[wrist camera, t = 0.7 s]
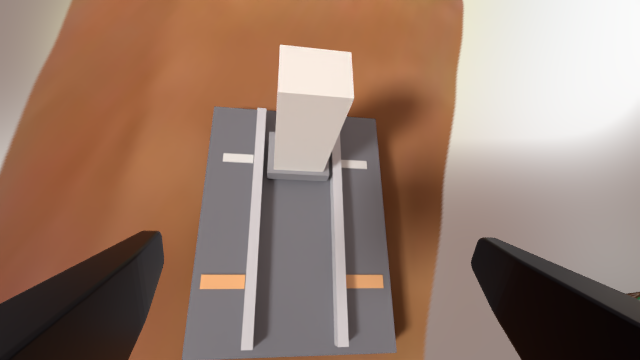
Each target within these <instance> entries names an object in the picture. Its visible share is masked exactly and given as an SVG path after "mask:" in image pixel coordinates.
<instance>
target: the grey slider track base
mask: <svg viewBox="0 0 640 360" xmlns="http://www.w3.org/2000/svg"><path fill="white" fill-rule="evenodd" d="M275 130H276V111H266V108H258V110H253V109H240V108H227V107H214V114H213V121H212V129H211V137H210V145H209V152H208V160H207V168H206V176H205V183H204V191H203V199H202V207H201V214H200V222H199V230H198V238H197V246H196V253H195V261H194V269H193V277H192V284H191V292H190V300H189V308H188V315H187V323H186V331H185V339H184V346H183V354H182V360H214V359H241V358H268V357H295V356H321V355H348V354H375V353H397V351H396V340H395V329H394V318H393V307H392V296H391V285H390V274H389V263H388V252H387V241H386V230H385V219H384V207H383V196H382V185H381V174H380V163H379V152H378V141H377V130H376V119H371V118H357V117H346V119H345V121H344V124H343V126H342V128H341V131H340V133H339V135H338V138H337V140H336V143H335V145H334V147H333V150H332V152H331V154H330V157H329V177H328V179H327V181H307V180H285V179H267V167H268V147H269V132H275Z"/></svg>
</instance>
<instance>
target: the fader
mask: <svg viewBox="0 0 640 360" xmlns="http://www.w3.org/2000/svg"><path fill="white" fill-rule="evenodd" d="M353 100H354V90H353V74H352V58H351V52H343V51H333V50H324V49H315V48H305V47H296V46H287V45H280V55H279V74H278V93H277V111H276V130H275V132H269V147H268V167H267V179H285V180H307V181H327V179H328V177H329V157H330V154H331V152H332V150H333V147H334V145H335V143H336V140H337V138H338V135H339V133H340V131H341V128H342V126H343V124H344V121H345V119H346V116H347V114H348V112H349V109H350V107H351V105H352V102H353Z"/></svg>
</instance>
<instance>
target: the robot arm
mask: <svg viewBox="0 0 640 360" xmlns="http://www.w3.org/2000/svg"><path fill="white" fill-rule="evenodd" d="M163 264H164V253H163V244H162V236H161V233H160V232H159V231H141V232H139V233H137V234H135V235H133V236H131V237H129V238H128V239H126V240H124V241H122V242H120V243H118V244H116V245H114V246H112V247H110V248H108V249H106V250H104V251H102V252H100V253H98V254H96V255H94V256H92V257H90V258H88V259H87V260H85V261H83V262H81V263H79V264H77V265H75V266H73V267H71V268H69V269H67V270H65V271H63V272H61V273H59V274H57V275H55V276H53V277H51V278H49V279H48V280H46V281H44V282H42V283H40V284H38V285H36V286H34V287H32V288H30V289H28V290H26V291H24V292H22V293H20V294H18V295H16V296H14V297H12V298H10V299H8V300H7V301H5V302H3V303H1V304H0V360H128V359H129V357H130V354H131V352H132V350H133V348H134V346H135V343H136V341H137V339H138V337H139V335H140V332H141V330H142V328H143V325H144V323H145V321H146V318H147V315H148V312H149V309H150V306H151V303H152V300H153V296H154V293H155V290H156V287H157V284H158V281H159V278H160V275H161V271H162V268H163ZM471 266H472V269H473V271H474V273H475V276H476V278H477V280H478V282H479V284H480V286H481V288H482V290H483V292H484V294H485V296H486V298H487V300H488V303H489V305H490V307H491V308H492V311H493V312H494V314H495V316H496V318H497V320H498V322H499V323H500V325H501V327H502V328H503V330H504V331H505V333H506V334H507V336H508V338H509V340H510V341H511V343H512V345H513V346H514V348H515V350H516V351H517V353H518V355H519V356H520V358H521V360H640V301H639V300H638V299H636V298H634V297H631V296H629V295H627V294H624V293H622V292H620V291H617V290H615V289H613V288H610V287H608V286H606V285H603V284H601V283H599V282H596V281H594V280H592V279H589V278H587V277H585V276H582V275H580V274H577V273H575V272H573V271H571V270H568V269H566V268H563V267H561V266H559V265H557V264H554V263H552V262H550V261H547V260H545V259H543V258H540V257H538V256H536V255H534V254H531V253H529V252H527V251H524V250H522V249H520V248H517V247H515V246H513V245H510V244H508V243H506V242H503V241H501V240H498V239H496V238H481V239H479V240H478V242H477V245H476V248H475V251H474V254H473V257H472V260H471Z"/></svg>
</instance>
